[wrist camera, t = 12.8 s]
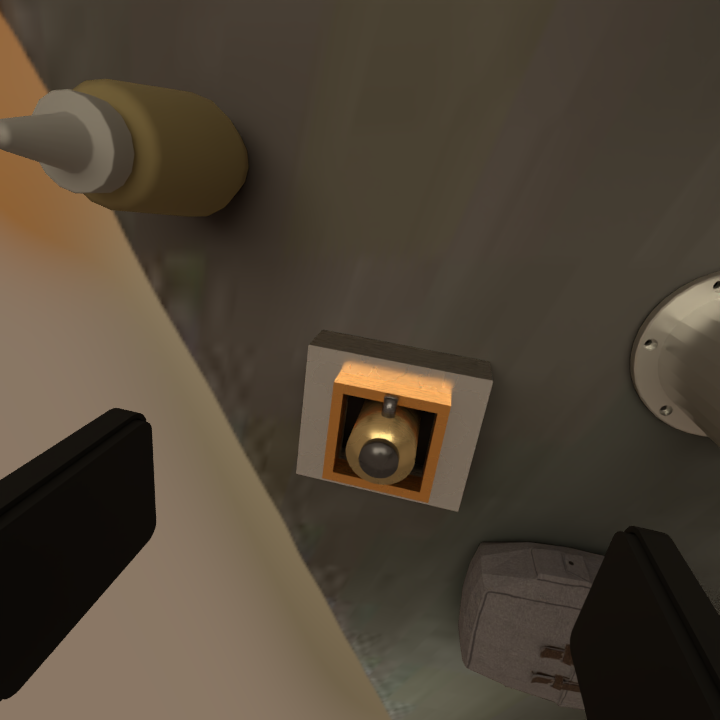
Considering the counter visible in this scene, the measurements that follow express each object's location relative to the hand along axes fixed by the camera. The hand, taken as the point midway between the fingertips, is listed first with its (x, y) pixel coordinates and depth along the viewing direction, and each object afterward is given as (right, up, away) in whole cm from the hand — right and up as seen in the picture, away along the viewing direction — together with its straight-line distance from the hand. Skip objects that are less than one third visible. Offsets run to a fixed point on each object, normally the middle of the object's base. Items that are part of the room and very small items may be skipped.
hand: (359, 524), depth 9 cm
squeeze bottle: (-11, +19, +26) cm, 34 cm away
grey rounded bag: (+20, -19, +34) cm, 44 cm away
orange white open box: (+3, -1, +31) cm, 31 cm away
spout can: (+3, -1, +30) cm, 31 cm away
